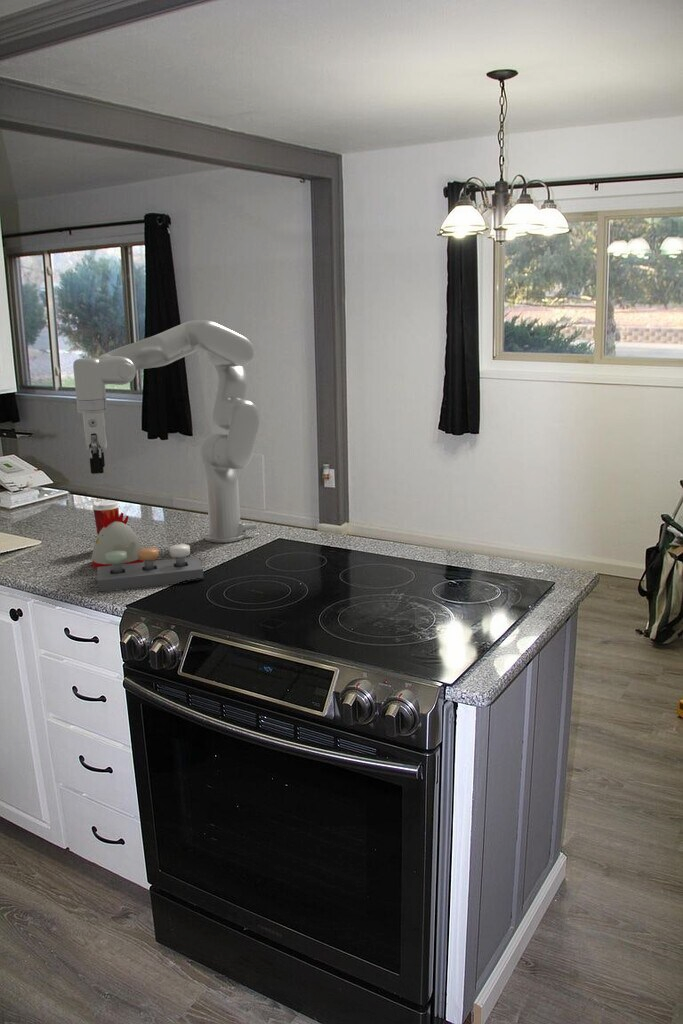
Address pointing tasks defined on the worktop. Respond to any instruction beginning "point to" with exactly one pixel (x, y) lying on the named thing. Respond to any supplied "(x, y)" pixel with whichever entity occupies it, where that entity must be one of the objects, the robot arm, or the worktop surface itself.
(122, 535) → the white rounded crested piece
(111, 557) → the button sage
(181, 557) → the button ivory
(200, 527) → the worktop surface
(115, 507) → the paper cup
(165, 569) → the console
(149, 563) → the button terracotta
